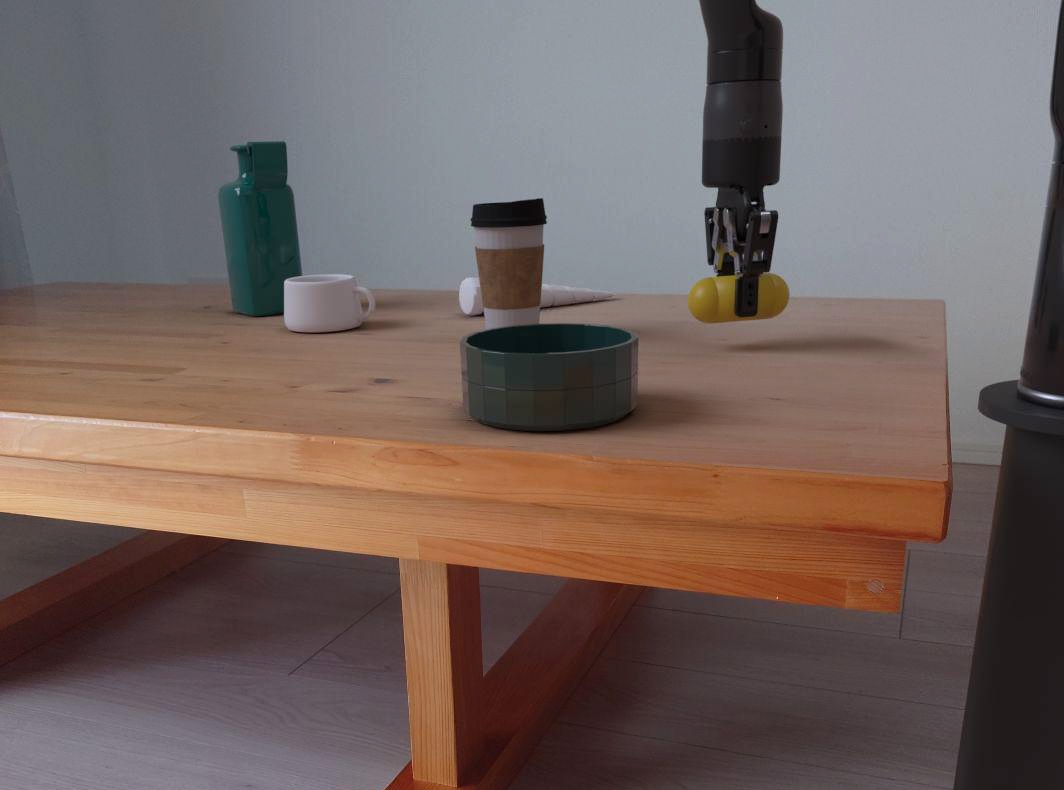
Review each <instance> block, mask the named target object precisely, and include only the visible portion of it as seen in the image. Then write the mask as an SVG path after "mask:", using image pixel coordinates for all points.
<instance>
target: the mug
mask: <svg viewBox="0 0 1064 790" xmlns="http://www.w3.org/2000/svg"><path fill="white" fill-rule="evenodd" d="M360 294H361V295H364V296H365V297H366V298H367V300H368V308H367V310H366V312H363V308H362V304H361V299H360ZM375 310H376V299H375V297H374V294H373V293H372V292H371V291H370V290H369V289H368V288H366V287H365V286H358V283H357V279H356V276H354V275H353V274H352V275H350V274H342V273H332V274H331V273H329V274H328V273H326V274H309V275H302V276H299V277H293V278H289V279H286V280H285V281H284V314H283V321H284V325H285V327H286V328H287V329H288V331H292V332H298V333H299V332H300V333H311V334H312V333H331V332H332V333H333V332H341V331H346V330H351V329H355V328H358V327H360V326H361V325H362V323H363V322H364V321H367V320H368V319H370V318H372V316H373V315H374V314H375Z"/></svg>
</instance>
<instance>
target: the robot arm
mask: <svg viewBox="0 0 1064 790" xmlns="http://www.w3.org/2000/svg"><path fill="white" fill-rule="evenodd" d="M698 3H699V7H700V13H701V18H702V21H703V22H702V23H703V26H704V29H705V34H706V39H707V47H706V48H707V49H706V80H705V81H706V87H705V88H706V89H705V96H704V102H703V111H702V146H701V148H702V149H701V184H702V186H703V187H705V188H707V189H708V188H709V189H717V194H716V195H717V196H716V200H715V206H711V207H709V206H708V207H705V208H704V211H703V212H704V213H703V216H704V227H705V243H706V260H707V265H708V266H712V270H713V273H714V274H716V277H720V276H733V275H735V276H736V278H737V279H735V304H734V314H735V315H736V316H738V317H754V316H755V315H756V314H757V312H758V290H759V278H761V277H762V275H763V273H770V271H771V268H772V262H773V261H772V260H773V255H774V248H775V243H776V236H777V230H778V229H777V228H778V222H779V212H778V210H776V209H773V210H767V209H766V203H765V194H764V188H765V187H770V186H775V185H777V184H778V183H779V181H780V178H781V158H782V133H783V116H784V115H783V114H784V106H783V103H784V102H783V93H782V91H783V90H782V77H783V75H782V72H783V53H784V51H783V50H784V27H783V23H782V20H781V19H780V18H779V17H778V16H777V15H775V14H773V13H772V12H769V11H768V10H765V9H763V8H761V6H759V4H758V3H757V1H756V0H698ZM1056 27H1057V28H1056V35H1055V43H1054V53H1053V63H1052V64H1053V65H1052V73H1051V81H1050V82H1051V83H1050V93H1049V121H1050V125H1051V130H1052V133H1053V140H1054V141H1053V142H1054V143H1053V153H1052V159H1051V160H1052V162H1053V163H1052V164H1051V166H1050V172H1049V179H1048V187H1047V193H1046V200H1045V207H1044V213H1043V221H1042V226H1041V233H1040V241H1039V248H1038V252H1037V253H1038V254H1037V261H1036V267H1035V274H1034V282H1033V286H1032V287H1033V288H1032V295H1031V300H1030V307H1029V308H1030V309H1029V315H1028V321H1027V328H1026V334H1025V340H1024V349H1023V356H1022V363H1021V366H1020V372H1019V379H1017V380H1018V385H1017V392H1016V395H1017V396H1018V397H1019V398H1020V399H1022V400H1024V401H1027V402H1030V403H1032V404H1036V405H1040V406H1044V407H1049V408H1054V409H1061V410H1064V0H1060V4H1059V11H1058V20H1057V25H1056Z"/></svg>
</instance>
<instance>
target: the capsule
mask: <svg viewBox="0 0 1064 790" xmlns="http://www.w3.org/2000/svg"><path fill="white" fill-rule="evenodd" d="M735 279H737V278H736V276H735V275H733V276H720V277H717V276H709V277H704V278H702V279H700V280H699V281H697V282H696V283H695V284H694V285H693V286H692V287H691V289H690V291H689V293H688V297H687V307H688V310H689V312H690V314H691V315H692V317H693V318H695V320H696V321H699V322H701V323H703V324H721V323H735V322H746V321H757V320H758V321H760V320H768V319H769V320H770V319H772V318H775V317H778V316H779V315H780V314H781V313H783V312H784V310H785V309H786V308H787V306H788V304H789V300H790V289H789V285H788V283H787V282H786V280H785V279H783V277H781V276H780V275H777V274H775V273H771V272H767V273H763V275H762V277H761V278H759V290H758V312H757V314H756V315H755V316H754V317H738V316H736V315H735V314H734V304H735Z"/></svg>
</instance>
